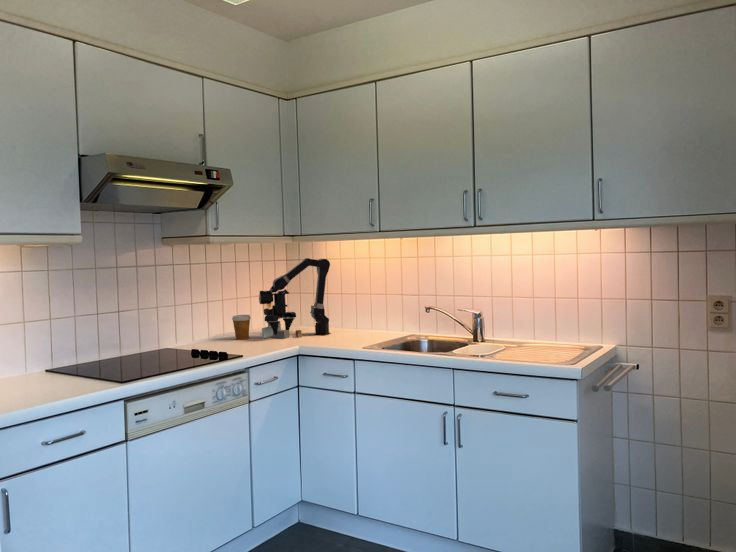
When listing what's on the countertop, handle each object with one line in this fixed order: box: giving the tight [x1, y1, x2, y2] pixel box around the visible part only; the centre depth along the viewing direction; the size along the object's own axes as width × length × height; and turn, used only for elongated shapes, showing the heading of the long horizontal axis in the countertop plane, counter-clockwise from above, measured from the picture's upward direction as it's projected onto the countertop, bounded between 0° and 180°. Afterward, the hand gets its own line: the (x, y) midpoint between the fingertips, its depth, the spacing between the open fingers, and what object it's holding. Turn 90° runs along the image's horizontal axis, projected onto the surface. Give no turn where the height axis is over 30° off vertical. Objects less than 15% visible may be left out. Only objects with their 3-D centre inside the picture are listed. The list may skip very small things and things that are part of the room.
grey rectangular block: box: [272, 329, 290, 340], centre depth 325 cm, size 7×4×4 cm, turn 61°
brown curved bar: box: [267, 320, 303, 338], centre depth 335 cm, size 27×2×7 cm, turn 43°
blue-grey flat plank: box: [261, 323, 282, 339], centre depth 331 cm, size 16×1×6 cm, turn 153°
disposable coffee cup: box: [231, 314, 251, 341], centre depth 326 cm, size 10×10×12 cm
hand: (281, 333), depth 325 cm, fingers open, 9 cm apart
